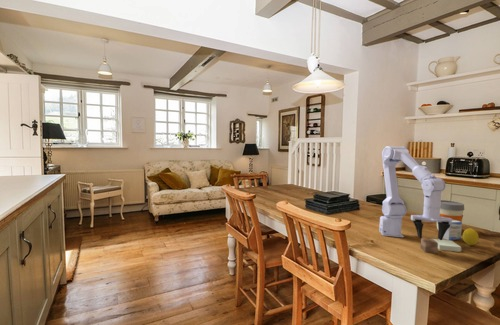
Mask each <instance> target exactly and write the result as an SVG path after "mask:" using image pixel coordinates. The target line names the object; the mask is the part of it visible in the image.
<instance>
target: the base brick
mask: <svg viewBox="0 0 500 325" xmlns="http://www.w3.org/2000/svg"><path fill="white" fill-rule="evenodd" d="M432 239H433V240H435V241H436V242H437V243H438V250H439V251H447V252H448V251H450V252H458V253H462V246H460V245H459V244H457V243H456V242H454V240H446V239H442V240H440V239H437V238H432Z"/></svg>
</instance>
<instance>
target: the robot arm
mask: <svg viewBox="0 0 500 325" xmlns="http://www.w3.org/2000/svg"><path fill="white" fill-rule="evenodd" d="M381 158H382V169H383V170H382V171H383V175H384V176H383V178H384V185H385V194H386V198H385V199H384V200H383V201H382V206H381V212H382V214H383V215H381V216H380V217H379V225H378V227H379V228H378V231H379V233H380V235H382V236H383V237H385V236H386V237H396V238H404V237H405V236H404V235H403V234H402V222H403V218H404V216H405V215H406V214H407V207H406V205H405V201H404V200H403V199H402V198H401V197H400V194H399V186H398V185H399V184H398V178H397V171H396V170H397V169H396V166H397V165H398V164H399V163H400V162H402V163H403V164H405V165H406V166H407V167H408V168H409V169H410V170H412V171H411V172H412V174H411V175H413V177H415V179H417V181H419V183H420V184H421V189H422V192H423V193H422V194H423V195H424V196H423V210H422V211H423V212H422V214H410V220H411V221H412V222H413V224H414V227H415V230H416V232H417V233H416V234H417V237H418V238H419V239H421V238H423V228H424V223H423V222H430V223H432V222H433V223H436V222H438V229H437V231H438V232H437V238H438V239H440V240H444V239H443V236H444V234H445V232H446V231H447V230H448V228H449V227H450V224H449V223H451V224H452V219H451V218H447V217H440V205H441V200H442V192H444V190H445V189H446V183H445V180H444V179H443V178H441V177H437V176H436V175H435V174H433V173H432V172H431V171H430V170H429V169H428V167H427V166H424V165H420V164H419V163H418V162H417V161H416V160H415V159H414V158H413V156H412V155H411V154H410V150H409V149H407V147H405V146H389V145H386V146H385V147H384V148H383V150H382V151H381Z"/></svg>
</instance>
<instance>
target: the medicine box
mask: <svg viewBox="0 0 500 325" xmlns="http://www.w3.org/2000/svg"><path fill="white" fill-rule="evenodd" d="M449 224H450V227H449V228H448V230H447V231H446V232H445V234H444V236H443V239H442V240H451V241H456V240H457V241H458V240H461V239H462V227H463V226H462V225H463V222H460V221H457V220H452V224H451V223H449Z"/></svg>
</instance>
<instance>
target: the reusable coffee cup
mask: <svg viewBox="0 0 500 325" xmlns="http://www.w3.org/2000/svg"><path fill="white" fill-rule="evenodd" d="M464 210H465V204H464V203H462V202H459V201H452V200H447V199H446V200H445V199H441V205H440V217H447V218H451V219H452V220H457V221H460V222H462V221H463V218H464V215H463V213H464ZM435 223H436V230H438V222H435ZM462 223H463V222H462Z"/></svg>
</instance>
